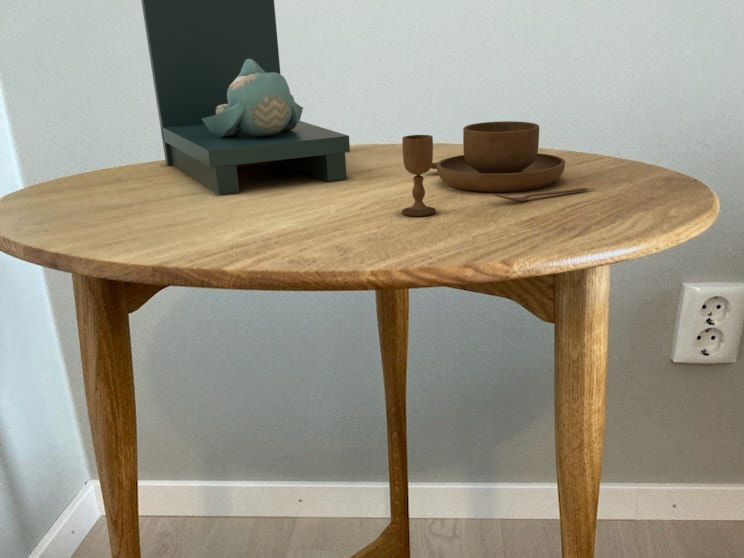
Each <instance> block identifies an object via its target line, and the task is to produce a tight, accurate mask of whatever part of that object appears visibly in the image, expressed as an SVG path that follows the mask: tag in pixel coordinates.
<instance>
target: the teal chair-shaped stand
mask: <svg viewBox="0 0 744 558" xmlns="http://www.w3.org/2000/svg"><path fill="white" fill-rule="evenodd" d="M140 1H141V2H140V3H141V7H142V14H143V20H144V27H145V33H146V35H145V36H146V40H147V48H148V53H149V61H150V67H151V68H150V69H151V73H152V80H153V87H154V93H155V94H154V95H155V99H156V100H155V101H156V107H157V115H158V120H159V121H158V122H159V126H160V132H161V140H162V147H163V152H164V153H163V154H164V159H165V165H166V166H168V167H171V166H173V167H175V168H176V169H178V170H180V171H181V172H182V173H184V174H186V175H187V176H188V177H190V178H192V179H193V180H195V181H197V182H198V183H200V184H201V185H203V186H204V187H206V188H208V189H209V190H211V191H212V192H214V193H216V194H217V195H219V196H221V195H222V196H223V195H230V194H239V193H240V184H239V178H238V177H239V176H238V170H237V169H238V167H237V166H238V165H247V164H255V163H264V162H274V161H279V162H282V163H284V164H287V165H289V166H292V167H294V168H296V169H297V170H301V171H303V172H304V173H307V174H310V175H312V176H315V177H316V178H319V179H322V180H324V181H326V182H328V183H329V182H335V181H345V180H347V178H348V177H347V176H348V175H347V161H346V160H347V159H346V153H350V152H351V147H350V145H351V144H350V135H348V134H344V133H342V132H338V131H336V130H332V129H328V128H325V127H321V126H319V125H315V124H312V123H309V122H306V121H302V120H299V122H298V124H297V125H296V127H295V128H294V129H291V130H282V131H281V132H279V133H277V134H275V135H270V136H253V135H250V134H248V133H246V132H245V131H243V130H242V132H241V133H239V134H236V135H233V136H227V137H219V136H217V135H216V134H214V133H212V132H211V131H210V130H209V129H208V127H207V126H206V125H205V123H204V122H203V120H202V118H206V117H210V116H213V115H216V108H217V106H219V105H222V104H228V99H227V91H228V88H229V86H230V85H231V83H232V82H233V81H234V80H235V79H236V78H237V77H238V75H239V74H240V72H241V69H242V67H243V64H244V62H245V60H246V59H252V60H254V61H255V62H256V63H257V64H258V65H259V66H260V67H261V68H262V70H263V71H265V72H266V73H273V72H275V73H279V74H281V63H280V53H279V42H278V41H279V40H278V31H277V30H278V29H277V28H278V27H277V19H276V7H275V5H276V4H275V0H140Z"/></svg>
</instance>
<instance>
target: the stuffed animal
mask: <svg viewBox="0 0 744 558" xmlns="http://www.w3.org/2000/svg"><path fill="white" fill-rule="evenodd" d="M227 99H228V104H222V105H219V106H217V108H216V115H213V116H210V117H206V118H202V120H203V122H204V123H205V125H206V126H207V127H208V129H209V130H210V131H211V132H212V133H214V134H216V135H217V136H219V137H227V136H233V135H236V134H239V133H241V132H242V130H243V131H245V132H246V133H248V134H250V135H253V136H270V135H275V134H277V133H279V132H281V131H282V130H291V129H294V128H295V127H296V125H297V124H298V122H299V121H301V117H302V113H303V110H304V107H303V106H301V105H299V104H298V103H297V102H296V101H295V99H294V96H293V94H291V90H290V87H289V85H288V81H287V80H286V78H285V77H284V76H283V75H282V74H281V73H280V74H279V73H275V72H273V73H266V72H265V71H263V70H262V68H261V67H260V66H259V65H258V64H257V63H256V62H255V61H254V60H252V59H246V60H245V62H244V64H243V67H242V69H241V72H240V74H239V75H238V77H237V78H236V79H235V80H234V81H233V82H232V83H231V85H230V86H229V88H228V91H227Z"/></svg>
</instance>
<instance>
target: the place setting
mask: <svg viewBox="0 0 744 558" xmlns="http://www.w3.org/2000/svg"><path fill="white" fill-rule="evenodd" d="M462 132H463V133H462V140H463V141H462V142H463V143H462V145H463V148H462V149H463V154H460V155H454V156H450V157H447V158H444V159H441V160H439V161H437V162H433V160H434V138H433V135H430V134H411V135H405V136H402V143H401V144H402V159H403V160H402V161H403V166H404V169H405V171H407V173H409V174H411V175H414V176H413V177H412V180H413V187H412V191H411V194H412V197H413V199H414V203H413V204H412V205H410V206H409V207H405V208H403V209H402V210H401V213H402V215H404V216H407V217H427V216H432V215H435V214H436V213H437V209H436V208H435V207H433V206H427V205H426V204H425V203H424V202H423V200H424V197H425V195H426V189H425V187H424V176H423V175H424V174H426V173H428V172H429V171H430V170H431V169H432V170H436V173H437V175H438V178H439V179H441V181H443V182H444V183H445V184H447V185H449V186H451V187H452V188H456V189H459V190H462V191H463V190H464V191H470V192H471V191H472V192H481V193H484V192H485V193H492V194H491V195H492V196H494V197H497V198H501V199H505V200H509V201H515V202H525V201H527V200H528V199H529V198H532V197H539V196H540V197H541V196H550V195H551V196H552V195H560V194H568V193H577V192H583V191H587V190H589V188H588V187H581V188H573V189H572V188H571V189H563V190H555V191H553V190H552V191H545V192H537V193H529V194H525V195H524V196H518V197H517V196H516V197H511V196H505V195H500V194H493V193H503V192H504V193H505V192H506V193H508V192H520V191H529V190H535V189H538V188H542V187H543V188H544V187H546V186H548V185H550V184H551V183H553V182H555V181H556V180H558V179H559V178H560V177H561V176H562V174H563V173H564V170H565V167H566V160H565V159H564V158H562V157H561V156H557V155H553V154H548V153H540V152H539V145H540V125H539V124H537V123H534V122H529V121H513V120H512V121H509V120H508V121H506V120H505V121H503V120H502V121H501V120H500V121H487V122H486V121H484V122H479V123H471V124H468V125H465V126H464V127H463V128H462Z"/></svg>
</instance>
